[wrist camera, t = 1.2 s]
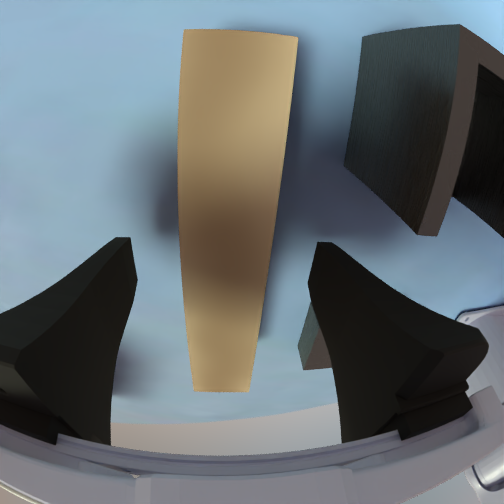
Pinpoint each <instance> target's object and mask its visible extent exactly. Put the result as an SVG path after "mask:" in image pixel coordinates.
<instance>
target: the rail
mask: <svg viewBox="0 0 504 504" xmlns="http://www.w3.org/2000/svg"><path fill="white" fill-rule="evenodd" d="M297 45H298V37H294V36H287V35H280V34H272V33H264V32H253V31H240V30H220V29H185V30H184V33H183V44H182V56H181V70H180V87H179V109H178V216H179V240H180V258H181V274H182V287H183V299H184V311H185V321H186V331H187V340H188V349H189V357H190V365H191V372H192V380H193V387H194V391H199V392H249V388H250V382H251V376H252V370H253V364H254V358H255V352H256V346H257V340H258V334H259V327H260V321H261V315H262V308H263V302H264V295H265V289H266V282H267V276H268V269H269V262H270V255H271V249H272V242H273V235H274V228H275V221H276V214H277V206H278V199H279V192H280V184H281V177H282V169H283V162H284V154H285V146H286V139H287V131H288V123H289V114H290V106H291V98H292V89H293V81H294V72H295V63H296V54H297Z"/></svg>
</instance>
